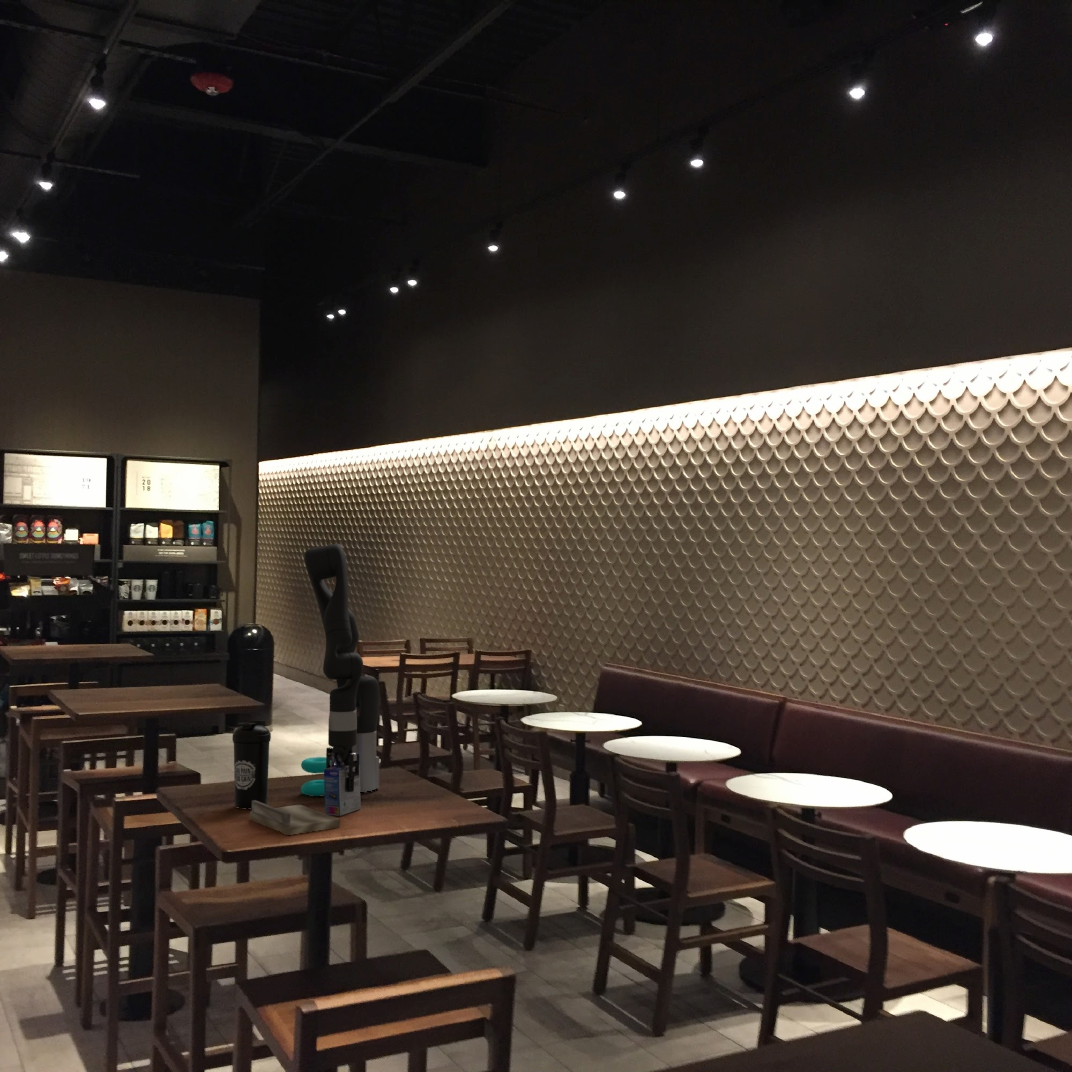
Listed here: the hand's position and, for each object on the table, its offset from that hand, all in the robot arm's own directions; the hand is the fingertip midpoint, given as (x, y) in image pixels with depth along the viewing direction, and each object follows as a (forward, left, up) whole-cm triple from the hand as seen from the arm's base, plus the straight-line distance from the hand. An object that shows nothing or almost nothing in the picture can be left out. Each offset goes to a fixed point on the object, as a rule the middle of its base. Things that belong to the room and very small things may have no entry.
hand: (342, 789), depth 286 cm
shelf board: (+16, +4, -6) cm, 17 cm away
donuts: (-6, -25, -6) cm, 26 cm away
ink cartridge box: (0, 0, -6) cm, 6 cm away
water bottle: (+16, -22, -6) cm, 28 cm away
